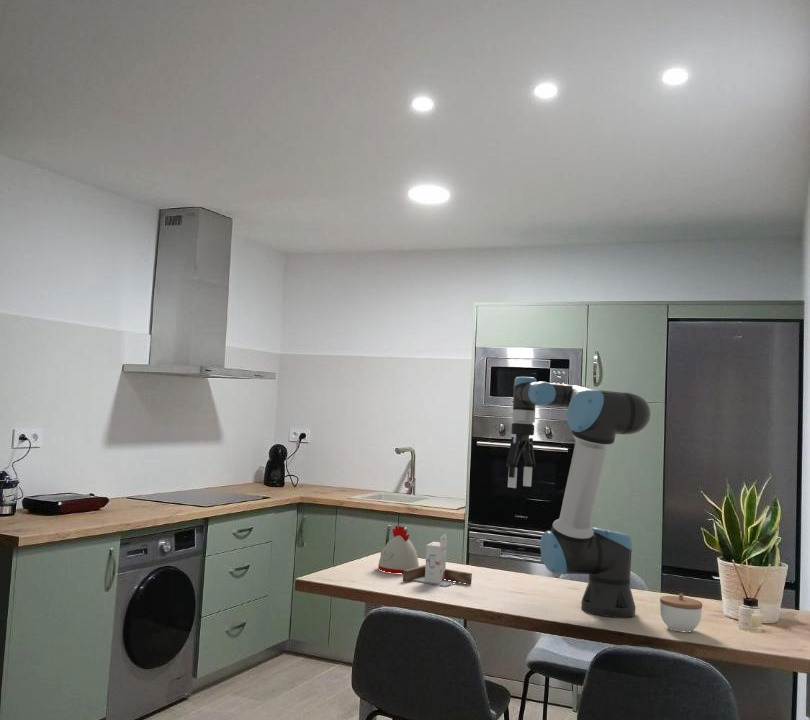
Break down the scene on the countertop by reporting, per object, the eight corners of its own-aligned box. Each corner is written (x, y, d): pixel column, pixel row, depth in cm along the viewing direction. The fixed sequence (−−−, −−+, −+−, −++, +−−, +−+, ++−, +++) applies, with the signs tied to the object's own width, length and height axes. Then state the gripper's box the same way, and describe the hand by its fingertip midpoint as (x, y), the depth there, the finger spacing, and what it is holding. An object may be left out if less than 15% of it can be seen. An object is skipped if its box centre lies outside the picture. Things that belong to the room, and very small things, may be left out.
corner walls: (471, 584, 245) (471, 573, 245) (451, 590, 233) (452, 579, 233) (423, 575, 254) (424, 565, 254) (402, 581, 242) (403, 570, 242)
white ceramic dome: (401, 565, 270) (404, 523, 271) (426, 573, 259) (429, 528, 260) (370, 568, 261) (373, 524, 262) (395, 576, 250) (398, 530, 251)
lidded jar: (707, 631, 204) (708, 595, 205) (692, 637, 196) (693, 600, 197) (668, 622, 211) (669, 588, 212) (652, 628, 203) (653, 592, 204)
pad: (456, 583, 245) (456, 582, 245) (445, 587, 238) (445, 585, 238) (424, 577, 251) (424, 576, 251) (412, 580, 244) (412, 579, 244)
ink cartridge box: (430, 577, 249) (433, 532, 251) (445, 579, 248) (447, 533, 249) (423, 582, 241) (426, 535, 243) (438, 584, 240) (441, 536, 241)
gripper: (526, 423, 267) (522, 484, 265) (498, 420, 246) (494, 487, 244) (546, 425, 263) (543, 486, 262) (519, 422, 242) (516, 489, 240)
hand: (519, 487), depth 253 cm, fingers open, 13 cm apart
